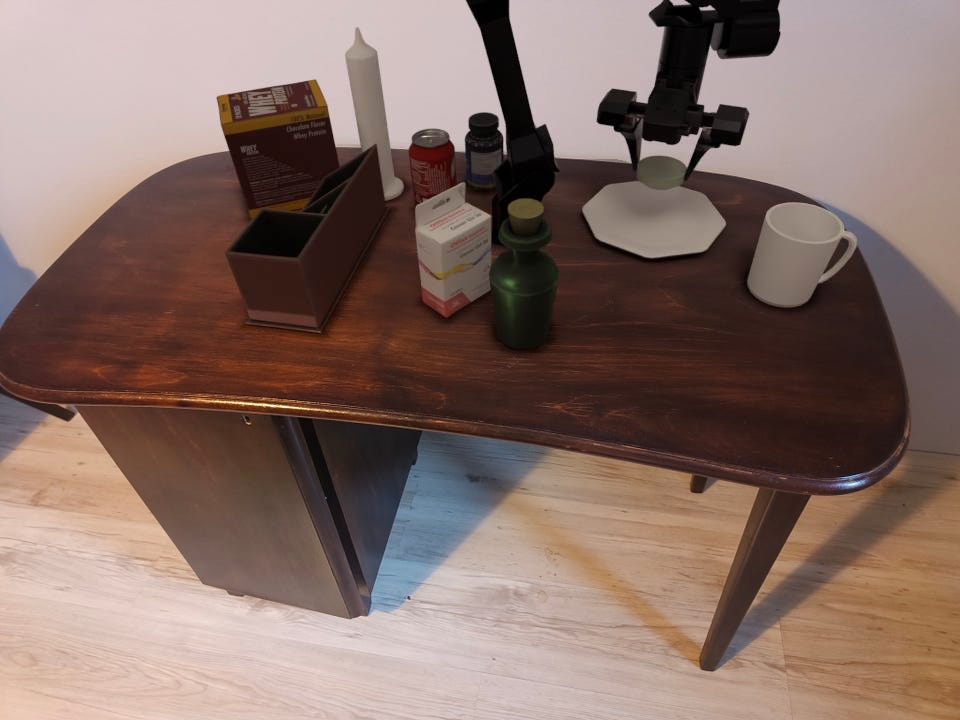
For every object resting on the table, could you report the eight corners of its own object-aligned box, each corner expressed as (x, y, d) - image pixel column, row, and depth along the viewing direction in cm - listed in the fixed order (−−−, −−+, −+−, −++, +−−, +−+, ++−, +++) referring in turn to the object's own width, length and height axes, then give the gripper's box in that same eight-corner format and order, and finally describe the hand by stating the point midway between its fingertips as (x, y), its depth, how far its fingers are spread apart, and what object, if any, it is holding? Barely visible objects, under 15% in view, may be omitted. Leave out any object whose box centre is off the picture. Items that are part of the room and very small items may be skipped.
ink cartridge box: (447, 320, 82) (438, 222, 71) (422, 302, 84) (410, 206, 74) (494, 289, 86) (492, 192, 75) (468, 273, 88) (463, 178, 78)
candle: (401, 201, 102) (379, 36, 84) (357, 202, 102) (326, 37, 84) (405, 178, 107) (385, 17, 89) (364, 179, 107) (335, 19, 89)
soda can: (453, 223, 97) (447, 150, 89) (410, 219, 98) (401, 146, 90) (462, 199, 102) (458, 127, 93) (421, 196, 103) (414, 125, 94)
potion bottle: (507, 364, 76) (508, 238, 63) (479, 322, 81) (474, 199, 68) (567, 343, 78) (579, 217, 65) (536, 304, 83) (541, 181, 71)
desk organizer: (245, 325, 82) (217, 254, 74) (328, 203, 102) (313, 137, 94) (322, 335, 81) (301, 263, 72) (391, 209, 100) (381, 142, 92)
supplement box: (347, 199, 103) (328, 104, 92) (250, 219, 100) (218, 123, 88) (336, 169, 110) (316, 77, 99) (245, 187, 106) (214, 94, 95)
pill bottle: (472, 172, 108) (469, 108, 100) (507, 175, 107) (507, 111, 99) (462, 190, 104) (459, 126, 96) (499, 194, 103) (498, 129, 95)
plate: (622, 176, 105) (623, 168, 104) (739, 213, 97) (741, 204, 96) (560, 234, 94) (561, 225, 93) (686, 280, 86) (689, 271, 85)
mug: (740, 302, 83) (763, 236, 75) (745, 262, 88) (767, 197, 81) (832, 320, 80) (865, 253, 72) (831, 278, 86) (861, 211, 78)
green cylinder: (629, 188, 89) (631, 174, 88) (641, 165, 94) (643, 152, 92) (678, 197, 87) (681, 183, 86) (687, 174, 92) (691, 160, 90)
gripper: (590, 74, 76) (579, 190, 87) (753, 97, 71) (719, 218, 82) (615, 42, 83) (601, 153, 94) (764, 61, 78) (731, 176, 89)
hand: (660, 174), depth 90 cm, fingers closed on green cylinder, 7 cm apart
